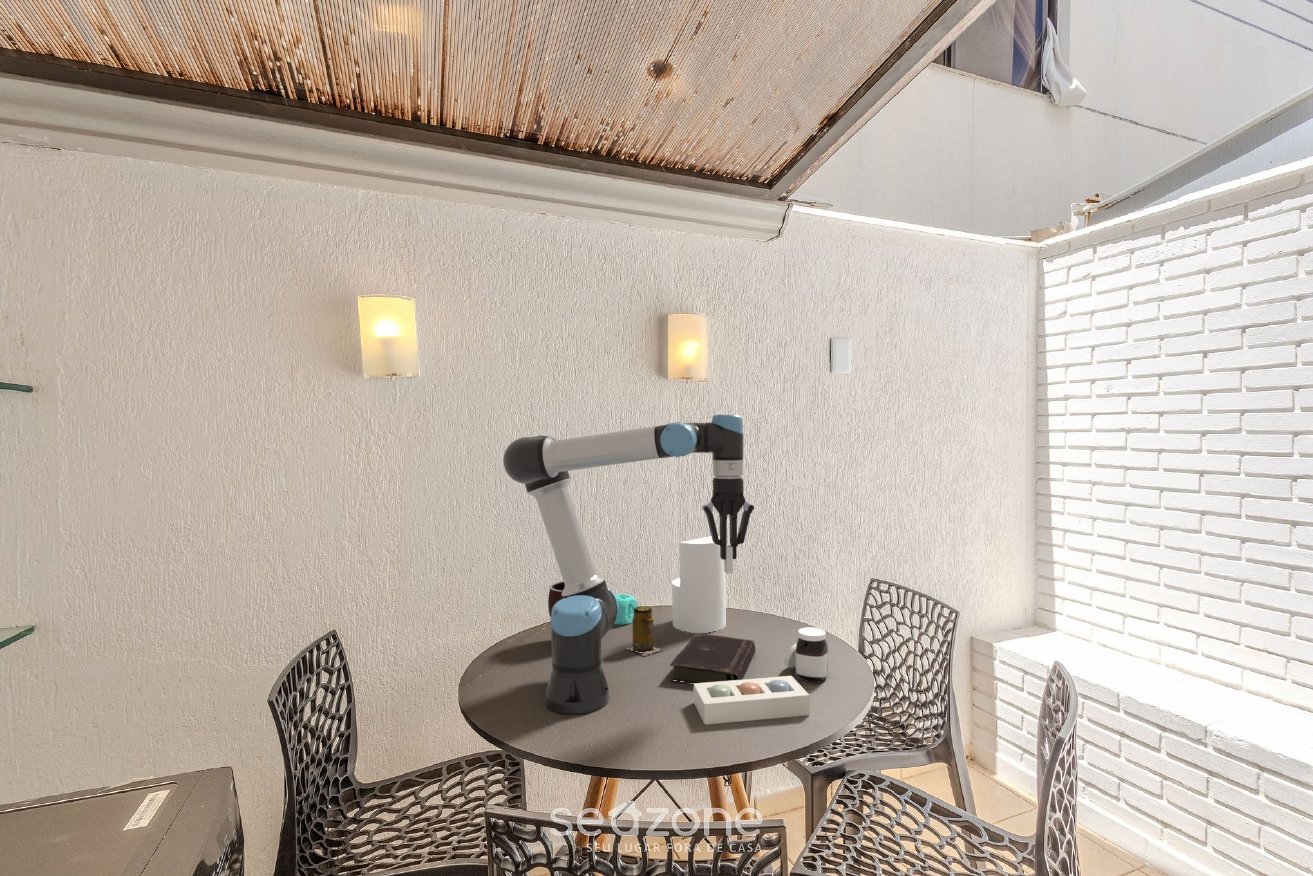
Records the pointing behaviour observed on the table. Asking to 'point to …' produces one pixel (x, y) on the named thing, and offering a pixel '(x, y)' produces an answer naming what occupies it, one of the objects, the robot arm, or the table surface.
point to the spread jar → (809, 655)
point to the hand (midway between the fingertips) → (728, 572)
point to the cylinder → (699, 588)
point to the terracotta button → (749, 688)
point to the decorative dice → (625, 609)
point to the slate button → (779, 686)
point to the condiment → (642, 630)
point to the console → (751, 701)
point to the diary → (713, 659)
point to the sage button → (720, 691)
